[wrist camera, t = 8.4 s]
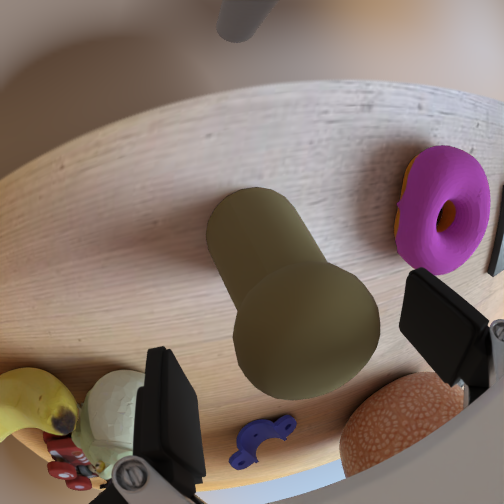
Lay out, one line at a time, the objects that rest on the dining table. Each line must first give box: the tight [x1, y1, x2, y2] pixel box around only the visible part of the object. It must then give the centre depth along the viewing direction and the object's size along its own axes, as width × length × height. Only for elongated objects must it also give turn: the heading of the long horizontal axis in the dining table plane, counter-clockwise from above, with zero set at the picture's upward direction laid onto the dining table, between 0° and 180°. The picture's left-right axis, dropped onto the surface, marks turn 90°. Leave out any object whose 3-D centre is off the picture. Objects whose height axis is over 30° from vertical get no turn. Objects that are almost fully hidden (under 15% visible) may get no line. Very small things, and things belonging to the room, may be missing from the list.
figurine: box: [71, 370, 145, 480], centre depth 18 cm, size 10×16×10 cm, turn 149°
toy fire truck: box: [43, 431, 99, 491], centre depth 24 cm, size 7×12×10 cm
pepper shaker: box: [206, 187, 380, 400], centre depth 13 cm, size 6×6×11 cm
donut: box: [394, 145, 490, 275], centre depth 17 cm, size 10×10×5 cm
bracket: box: [229, 415, 297, 470], centre depth 27 cm, size 9×5×3 cm, turn 110°
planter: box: [339, 372, 464, 478], centre depth 24 cm, size 21×21×19 cm
